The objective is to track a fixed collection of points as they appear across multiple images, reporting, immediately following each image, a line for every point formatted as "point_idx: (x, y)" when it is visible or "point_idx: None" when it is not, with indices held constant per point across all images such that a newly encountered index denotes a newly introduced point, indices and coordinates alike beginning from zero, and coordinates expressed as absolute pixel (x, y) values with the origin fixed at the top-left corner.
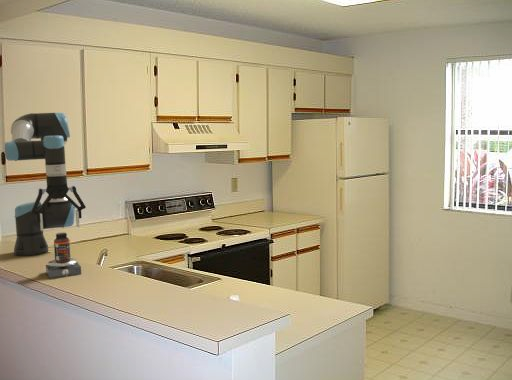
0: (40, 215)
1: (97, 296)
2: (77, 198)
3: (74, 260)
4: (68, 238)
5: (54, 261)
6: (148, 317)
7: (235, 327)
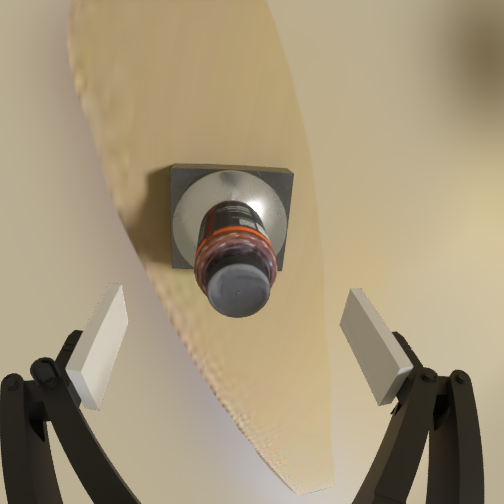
0: (89, 403)
1: (253, 420)
2: (430, 482)
3: (273, 240)
4: (273, 277)
5: (199, 209)
6: (279, 472)
7: (324, 486)
